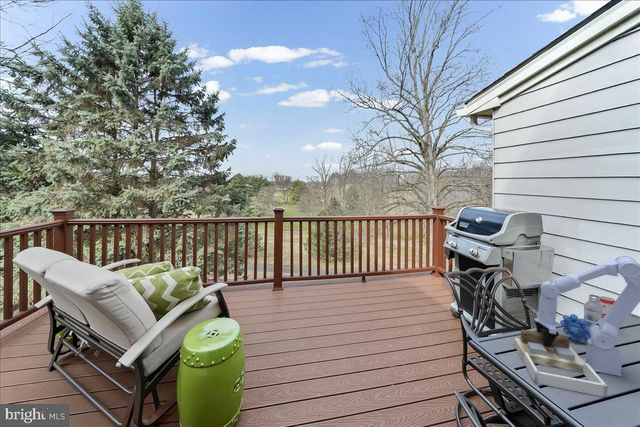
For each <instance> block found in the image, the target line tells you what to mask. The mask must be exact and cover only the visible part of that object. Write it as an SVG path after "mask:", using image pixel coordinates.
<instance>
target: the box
mask: <svg viewBox="0 0 640 427" xmlns="http://www.w3.org/2000/svg"><path fill="white" fill-rule="evenodd" d="M522 361H523V364H524V366H525V367H526V369H527V372H528V373H529V375H530V376H531V378H532V379H531V380H533V383H534V384H538V385H544V386H548V387H553V388H558V389H564V390H568V391H572V392H573V391H574V392H579V393H582V394H589V395H593V396H596V397H597V396H598V397H604V398H607V396H608V395H607V394H608V385H607V384H606V382H605V381H604V380H603V379H602V378H601V377H600V376H599V374H598V373H597V372H596V371H594V370H593V369H592V368H591V367H590V366H589V364H588V363H584V367H583V372H582V374H584V376H585V377H586V378H587V380H586V379H580V378H574V377H571V376H570V377H569V376H564V375H561V374H560V375H559V374H555V373H549V372H544V371H539V370H538V369H537V367H536V364H534V363H533V362H532V360H531V358H530V356H529V355H528V353H526V352H524V360H522Z"/></svg>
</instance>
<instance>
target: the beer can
mask: <svg viewBox="0 0 640 427" xmlns="http://www.w3.org/2000/svg"><path fill="white" fill-rule="evenodd" d="M599 297H600V302H599V303H600V304H601V305H602V307H603V312H602V315H601V318H600V319H603V317H604V316H605V315H606V313H607V312H608V311H609V309H610V308H611V306H612V305H613V304H614V302H615V301H616V299H614V298H612V297H609V296H599Z"/></svg>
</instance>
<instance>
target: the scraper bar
mask: <svg viewBox="0 0 640 427" xmlns="http://www.w3.org/2000/svg"><path fill="white" fill-rule="evenodd" d="M569 338H570V337H568V335H560V334H559V336H557V337H556V338H555V340H554V341H553V344H552V346H551V347H550V348H554V346H555V347H561V348H567V349H569V347H570V344H571V340H570V339H569ZM519 339H521V341H522V343H526V344H528V342H531V343H537V344H542V345H543V346H544V339H543V333H541V332H537V331H533V330H529V329H528V330H527V329H526V330H525V329H521V330H520V338H519ZM544 347H547V346H544Z"/></svg>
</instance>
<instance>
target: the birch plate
mask: <svg viewBox="0 0 640 427" xmlns="http://www.w3.org/2000/svg"><path fill="white" fill-rule="evenodd" d="M513 345H514V347H515V348H516V350H517V352H518V355H519V356H520V357H521V360H522V361H523V360H524V352H526V353H528V355H529V356H530V358H531V360H532V362H533V363H534V365H540V366H545V367H550V368H557V369H561V370H562V369H563V370H568V371H572V372H578V373H583V367H584V362H583V360H582V359H581V358H582V357H580V355H579V354H578V353H577V352H576V351H575V350H574V348H573V347H571V346H569V349H570V350H571V352H572V353H573V354H574V355H575V361H573V360H567V359H561V358H558V356H557V355H556V354H555V352H554V348H550V347H544V348H545V349H546V351H547V355H546V356H544V355H538V354H533V353H531V352H530V350H529V349H528V347H527V344H526V343H522V341H521V339H520V338H519V337H514V343H513Z"/></svg>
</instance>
